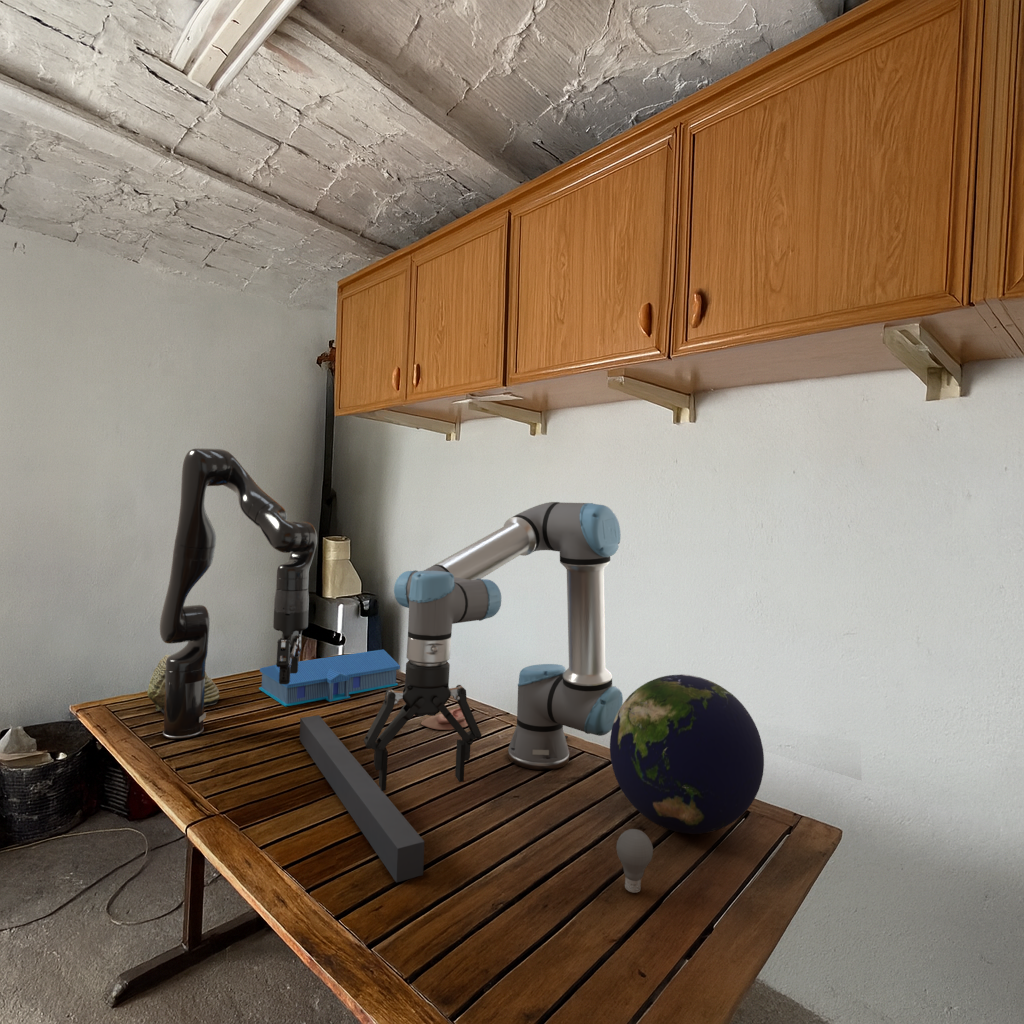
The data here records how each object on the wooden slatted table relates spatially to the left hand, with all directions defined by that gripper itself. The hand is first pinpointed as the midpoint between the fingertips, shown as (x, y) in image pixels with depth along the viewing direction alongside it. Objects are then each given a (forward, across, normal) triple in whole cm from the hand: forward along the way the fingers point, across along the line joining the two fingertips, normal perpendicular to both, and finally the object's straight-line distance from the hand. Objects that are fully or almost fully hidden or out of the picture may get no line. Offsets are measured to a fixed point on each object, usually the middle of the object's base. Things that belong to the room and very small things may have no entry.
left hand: (288, 678), depth 146 cm
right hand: (+6, +40, +31) cm, 52 cm away
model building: (+21, -62, +1) cm, 66 cm away
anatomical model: (+21, -29, +38) cm, 52 cm away
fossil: (+21, -44, -38) cm, 62 cm away
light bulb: (+21, +49, +67) cm, 86 cm away
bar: (+21, +12, +16) cm, 29 cm away
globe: (+21, +29, +84) cm, 91 cm away
